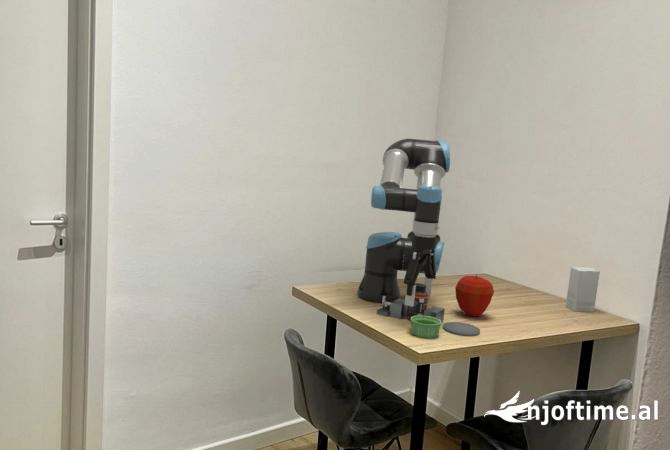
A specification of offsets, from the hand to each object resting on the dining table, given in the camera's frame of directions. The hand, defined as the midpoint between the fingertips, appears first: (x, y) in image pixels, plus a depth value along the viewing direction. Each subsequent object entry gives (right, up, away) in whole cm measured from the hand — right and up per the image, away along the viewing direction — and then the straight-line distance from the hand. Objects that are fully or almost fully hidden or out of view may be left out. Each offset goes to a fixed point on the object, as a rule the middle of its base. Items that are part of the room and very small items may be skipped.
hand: (417, 301), depth 186 cm
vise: (-2, -5, +2) cm, 6 cm away
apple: (+20, -6, +11) cm, 24 cm away
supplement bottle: (0, -6, +1) cm, 6 cm away
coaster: (+12, -8, -6) cm, 16 cm away
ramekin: (0, -8, -13) cm, 15 cm away
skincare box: (+64, -7, +32) cm, 72 cm away
